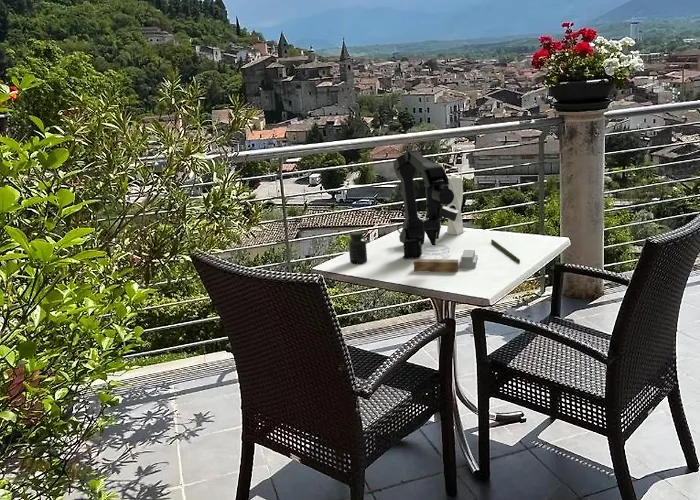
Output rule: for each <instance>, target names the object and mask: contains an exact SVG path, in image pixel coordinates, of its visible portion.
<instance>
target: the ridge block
mask: <svg viewBox="0 0 700 500" xmlns="http://www.w3.org/2000/svg"><path fill="white" fill-rule="evenodd" d="M475 252H476V249H464V250H463V252H462V254H461V255H460V258H459V260H458V268H476V266H477V263H478V260H479V258H478V257H479V256H478V254H476V253H475Z"/></svg>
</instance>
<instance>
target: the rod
mask: <svg viewBox="0 0 700 500" xmlns="http://www.w3.org/2000/svg"><path fill="white" fill-rule="evenodd" d="M491 244H492V245H493V246H495V247H496V248H497V249H499V250H500V251H501V252H503V253H504V254H506V256H508V257H509V258H511V259H512V260H513V261H515V262H516V263H518V264H520V263H521V260H520V258H518V256H515V254H513V253H512V252H510V251H509V250H507V249H506V248H505V247H504V246H502V245H501V244H499V243H498V242H497V241H495V240H494V239H491Z"/></svg>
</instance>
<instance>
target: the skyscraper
mask: <svg viewBox="0 0 700 500" xmlns="http://www.w3.org/2000/svg"><path fill="white" fill-rule="evenodd" d="M447 177H448V179H449V180H448V182H449V185H448V186H449V189H450V190H452V192H453V194H454V199H453V201H452V203H450V204H449V205H446V207H447V206H448V207H450V206H451V205H455V206H456V210H458V211H459V212H458V214H457V217H456V220H455V221H452V220H450V219H447V230H446V232H444V233H443V234H444V235H445V234H446V235H454V236H459V235H461V234H464V233H465V232H467V231H466V230H464V223H463V215H462V210H461V209H462V205H463V197H464V186H463V178H462V177H463V172H462V171H458V173H457V174H450V176H449V175H447Z"/></svg>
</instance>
